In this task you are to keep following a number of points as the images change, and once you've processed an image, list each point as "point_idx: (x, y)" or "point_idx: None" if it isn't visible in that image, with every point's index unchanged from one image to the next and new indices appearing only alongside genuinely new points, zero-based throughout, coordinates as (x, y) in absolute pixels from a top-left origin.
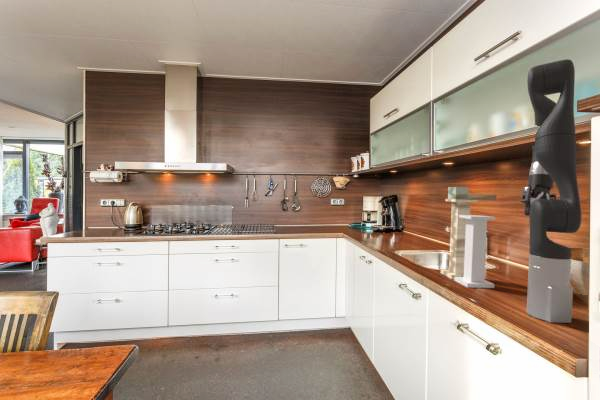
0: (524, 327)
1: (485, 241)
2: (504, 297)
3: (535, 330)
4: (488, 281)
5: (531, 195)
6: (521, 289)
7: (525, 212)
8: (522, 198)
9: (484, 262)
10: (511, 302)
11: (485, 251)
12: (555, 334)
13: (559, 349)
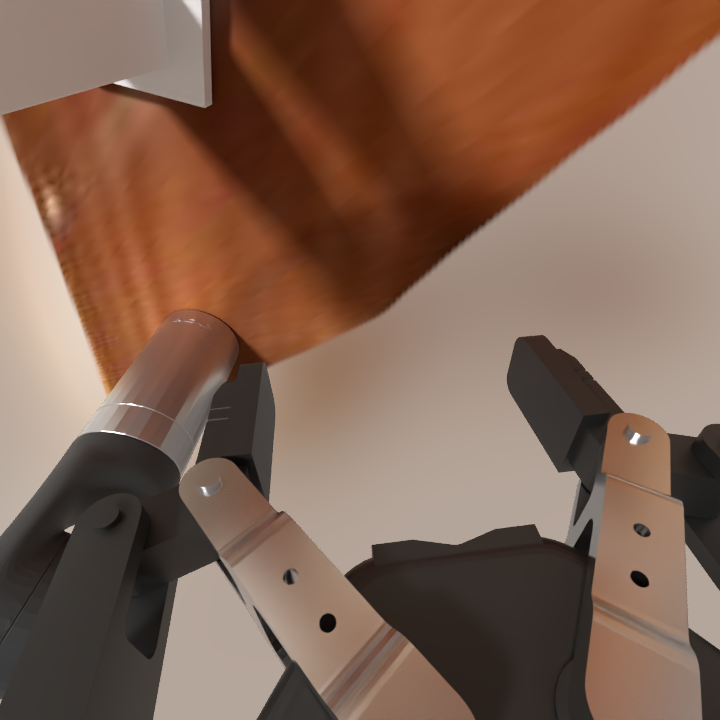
0: (109, 362)
1: (8, 110)
2: (184, 211)
3: (124, 373)
4: (202, 55)
5: (280, 685)
6: (338, 141)
7: (219, 401)
8: (73, 577)
9: (108, 81)
10: (177, 253)
11: (66, 95)
12: None
13: None
